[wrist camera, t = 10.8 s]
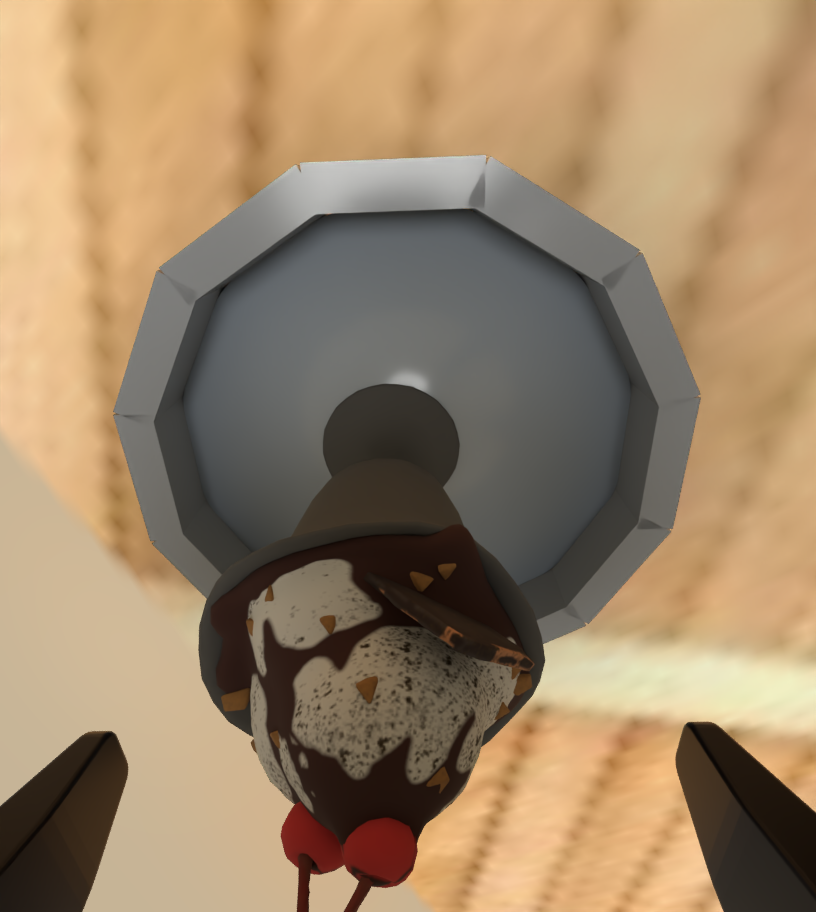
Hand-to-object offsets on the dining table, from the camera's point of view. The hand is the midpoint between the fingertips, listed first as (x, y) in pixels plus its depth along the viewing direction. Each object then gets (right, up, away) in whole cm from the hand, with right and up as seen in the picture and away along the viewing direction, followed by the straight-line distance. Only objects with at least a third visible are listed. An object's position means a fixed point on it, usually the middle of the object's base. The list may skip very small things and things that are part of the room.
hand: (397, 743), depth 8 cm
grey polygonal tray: (0, +5, +12) cm, 13 cm away
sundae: (0, +5, +11) cm, 12 cm away
